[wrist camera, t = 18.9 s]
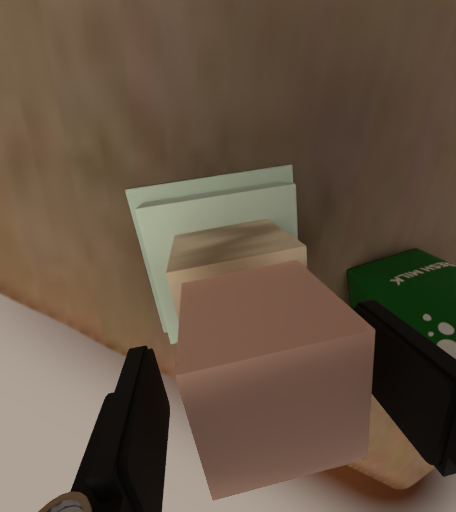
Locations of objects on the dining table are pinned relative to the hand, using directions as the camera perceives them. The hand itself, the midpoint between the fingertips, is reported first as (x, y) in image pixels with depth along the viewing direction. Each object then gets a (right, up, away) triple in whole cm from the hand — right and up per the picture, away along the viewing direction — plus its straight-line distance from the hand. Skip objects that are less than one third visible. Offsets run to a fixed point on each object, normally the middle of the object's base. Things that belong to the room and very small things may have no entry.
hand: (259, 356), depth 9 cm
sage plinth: (-2, +4, +11) cm, 12 cm away
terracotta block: (0, +1, +2) cm, 2 cm away
